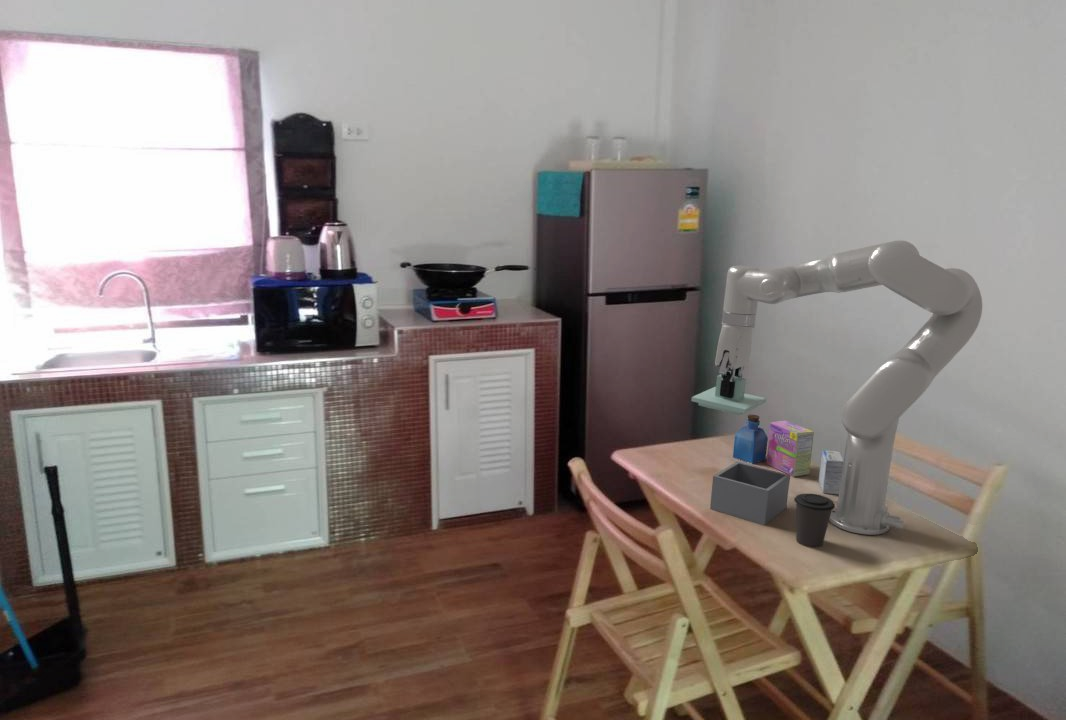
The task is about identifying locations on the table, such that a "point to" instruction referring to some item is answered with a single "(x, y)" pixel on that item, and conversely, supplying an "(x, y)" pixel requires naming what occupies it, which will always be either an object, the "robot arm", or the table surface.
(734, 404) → the lid
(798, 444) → the box
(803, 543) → the coffee cup
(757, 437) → the perfume bottle
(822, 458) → the medicine box
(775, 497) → the parts tub
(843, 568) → the table surface
